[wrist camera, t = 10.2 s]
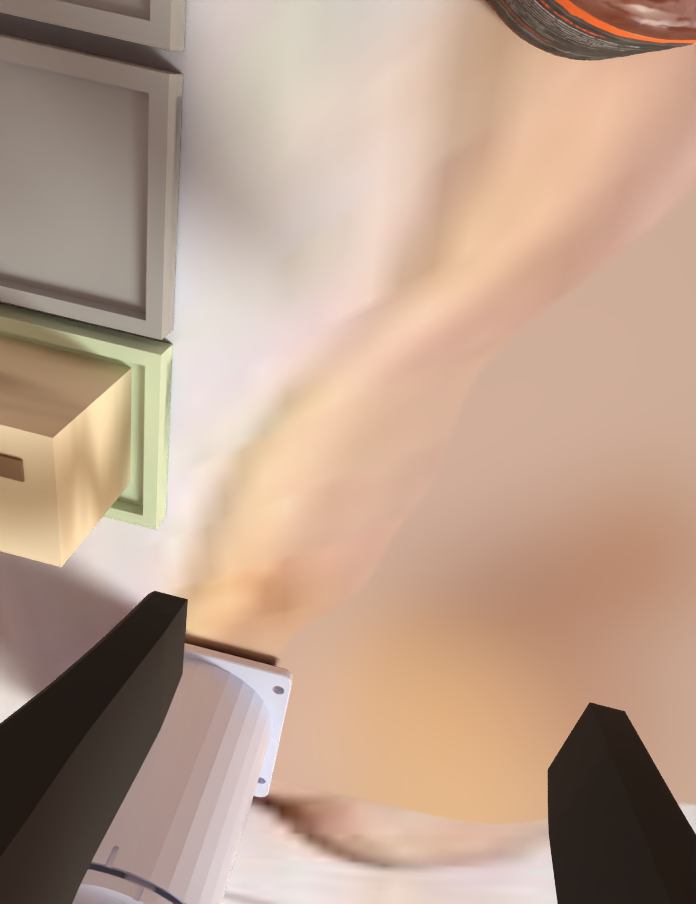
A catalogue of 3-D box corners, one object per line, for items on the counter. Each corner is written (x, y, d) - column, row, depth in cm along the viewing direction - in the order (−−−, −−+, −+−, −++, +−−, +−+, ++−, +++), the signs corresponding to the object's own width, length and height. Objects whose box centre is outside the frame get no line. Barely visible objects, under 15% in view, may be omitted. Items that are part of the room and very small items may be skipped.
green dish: (165, 515, 24) (155, 529, 23) (-11, 470, 24) (-27, 483, 23) (172, 344, 20) (160, 355, 19) (-37, 293, 20) (-56, 302, 20)
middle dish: (173, 329, 20) (161, 339, 19) (-39, 278, 20) (-59, 287, 19) (183, 74, 16) (169, 74, 15) (-77, 15, 16) (-104, 12, 16)
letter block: (130, 484, 23) (60, 571, 19) (8, 453, 23) (-87, 533, 19) (131, 367, 20) (50, 439, 16) (-5, 333, 20) (-118, 396, 16)
